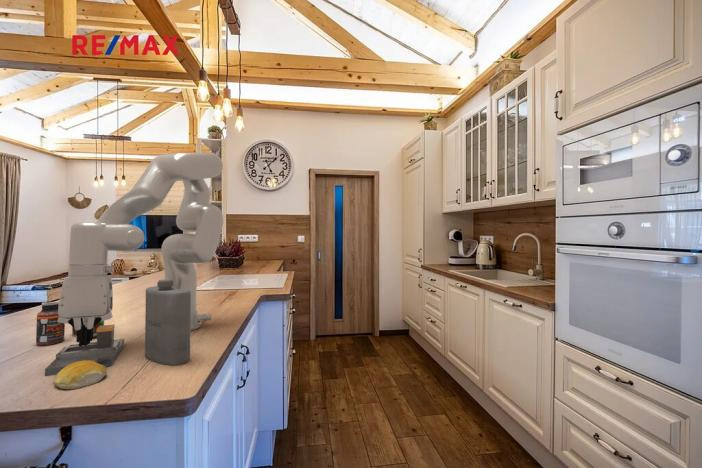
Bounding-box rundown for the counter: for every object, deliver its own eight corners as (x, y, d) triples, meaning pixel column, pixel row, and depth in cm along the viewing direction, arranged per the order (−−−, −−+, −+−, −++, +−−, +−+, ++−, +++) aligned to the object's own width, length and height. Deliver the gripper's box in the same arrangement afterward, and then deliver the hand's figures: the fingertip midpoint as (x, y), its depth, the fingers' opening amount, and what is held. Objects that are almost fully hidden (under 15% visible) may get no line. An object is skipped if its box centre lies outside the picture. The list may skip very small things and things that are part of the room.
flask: (137, 355, 82) (138, 278, 82) (160, 349, 87) (161, 276, 87) (171, 368, 74) (172, 283, 74) (194, 360, 79) (195, 280, 79)
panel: (124, 343, 90) (124, 334, 90) (111, 365, 75) (112, 354, 75) (70, 350, 85) (70, 340, 85) (44, 375, 70) (45, 363, 70)
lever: (114, 346, 84) (114, 324, 84) (111, 350, 81) (112, 327, 81) (99, 348, 82) (99, 325, 82) (96, 352, 79) (96, 329, 79)
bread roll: (94, 369, 74) (95, 352, 74) (111, 379, 69) (112, 360, 69) (47, 383, 67) (47, 364, 67) (62, 395, 62) (62, 374, 62)
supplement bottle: (46, 347, 87) (47, 306, 87) (30, 345, 89) (30, 305, 89) (70, 340, 93) (70, 301, 93) (54, 338, 94) (54, 300, 94)
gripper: (126, 269, 87) (123, 337, 86) (55, 270, 80) (51, 343, 79) (120, 272, 80) (117, 345, 79) (42, 273, 73) (38, 353, 73)
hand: (84, 344), depth 79 cm, fingers closed
